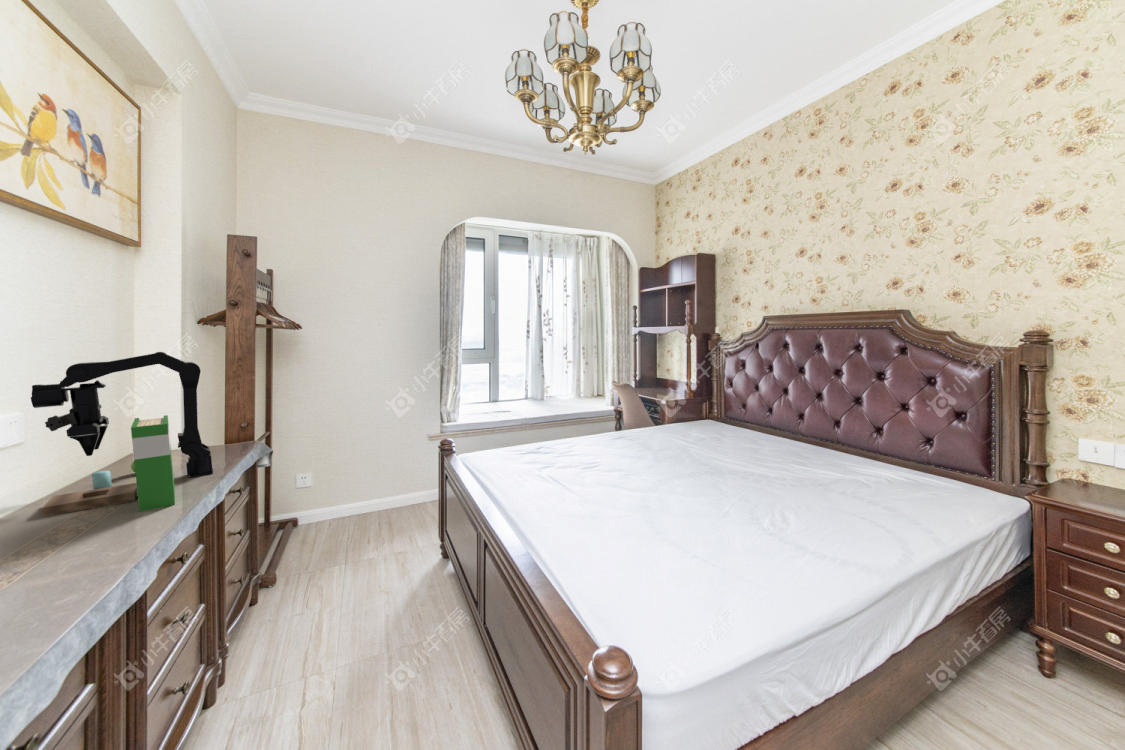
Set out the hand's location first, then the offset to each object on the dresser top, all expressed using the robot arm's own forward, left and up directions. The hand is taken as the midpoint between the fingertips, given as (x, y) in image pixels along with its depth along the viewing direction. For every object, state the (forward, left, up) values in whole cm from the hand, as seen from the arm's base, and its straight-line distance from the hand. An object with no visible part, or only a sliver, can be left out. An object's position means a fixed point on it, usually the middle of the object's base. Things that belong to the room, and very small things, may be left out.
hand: (92, 452), depth 136 cm
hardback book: (-16, +22, -13) cm, 30 cm away
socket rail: (-1, +13, -13) cm, 18 cm away
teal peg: (-1, +1, -13) cm, 13 cm away
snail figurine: (-9, -15, -13) cm, 22 cm away
